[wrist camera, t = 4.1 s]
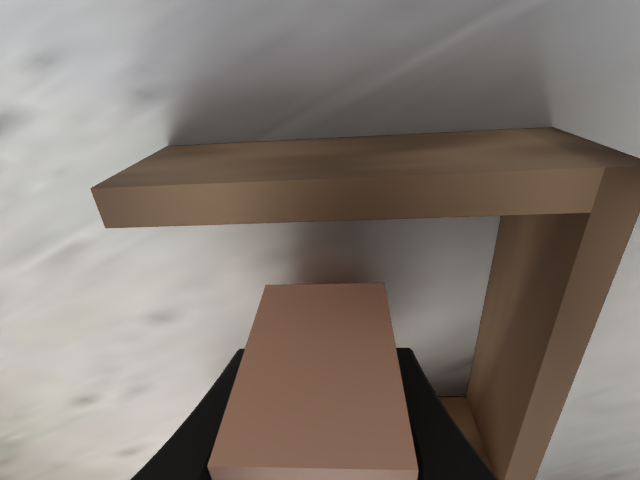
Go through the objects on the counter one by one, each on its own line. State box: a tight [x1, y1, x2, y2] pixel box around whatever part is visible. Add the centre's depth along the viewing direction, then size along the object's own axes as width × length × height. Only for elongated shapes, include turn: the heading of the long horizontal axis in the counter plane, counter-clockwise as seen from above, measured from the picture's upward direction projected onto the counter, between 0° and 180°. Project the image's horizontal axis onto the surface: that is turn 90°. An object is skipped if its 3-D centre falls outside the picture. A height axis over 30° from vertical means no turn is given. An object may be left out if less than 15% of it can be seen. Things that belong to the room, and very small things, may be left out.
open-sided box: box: [90, 127, 640, 480], centre depth 12 cm, size 12×13×4 cm
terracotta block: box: [207, 283, 418, 480], centre depth 10 cm, size 4×4×6 cm
